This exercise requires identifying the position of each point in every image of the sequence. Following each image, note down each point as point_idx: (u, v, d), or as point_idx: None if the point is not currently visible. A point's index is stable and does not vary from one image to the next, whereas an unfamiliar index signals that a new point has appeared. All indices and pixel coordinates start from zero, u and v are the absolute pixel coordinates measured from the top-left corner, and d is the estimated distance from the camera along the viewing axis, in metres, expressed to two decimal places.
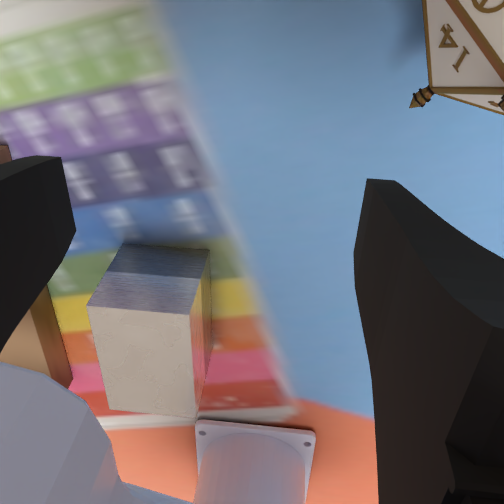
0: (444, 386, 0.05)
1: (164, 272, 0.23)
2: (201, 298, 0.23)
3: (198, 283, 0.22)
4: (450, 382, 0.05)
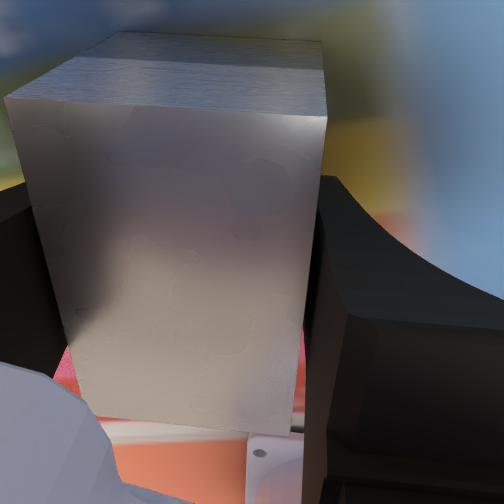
0: (328, 375, 0.05)
1: (225, 60, 0.09)
2: None
3: (323, 74, 0.08)
4: (331, 371, 0.05)
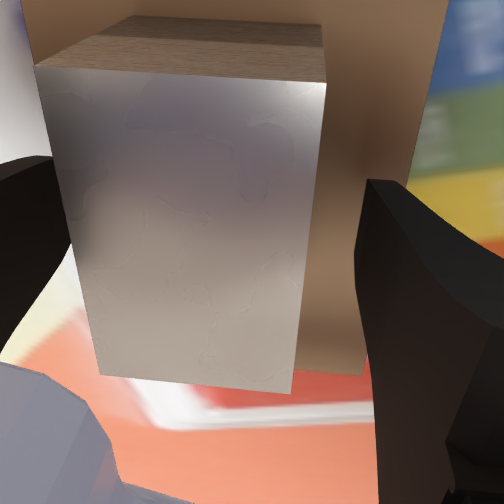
0: (444, 386, 0.05)
1: (232, 39, 0.10)
2: None
3: (323, 51, 0.09)
4: (450, 382, 0.05)
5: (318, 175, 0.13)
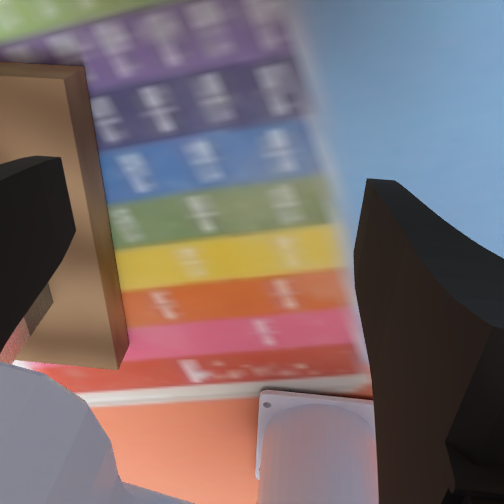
0: (444, 386, 0.05)
1: None
2: None
3: None
4: (450, 382, 0.05)
5: None
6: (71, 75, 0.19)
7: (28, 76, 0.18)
